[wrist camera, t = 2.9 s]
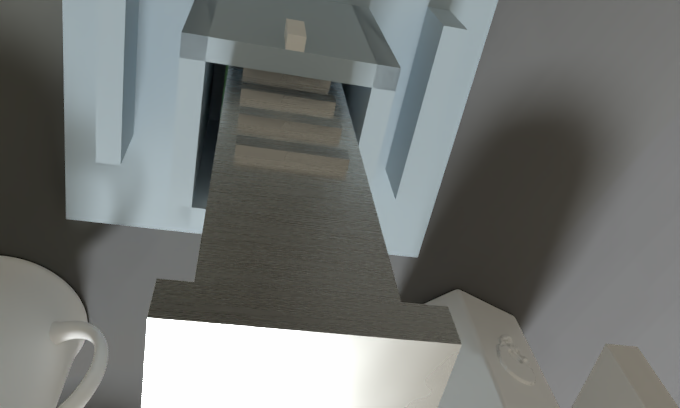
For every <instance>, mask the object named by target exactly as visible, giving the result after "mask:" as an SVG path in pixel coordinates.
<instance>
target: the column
mask: <svg viewBox="0 0 680 408" xmlns="http://www.w3.org/2000/svg"><path fill="white" fill-rule="evenodd" d="M461 346H462V343H461V341H460V338H459V335H458V332H457V330H456V327H455V324H454V322H453V319H452V316H451V313H450V311H449V308H448V306H438V305H427V304H417V303H407V302H401V299H400V295H399V292H398V288H397V284H396V281H395V277H394V274H393V270H392V266H391V263H390V259H389V255H388V252H387V248H386V244H385V241H384V237H383V233H382V230H381V226H380V223H379V219H378V215H377V212H376V208H375V204H374V201H373V197H372V193H371V190H370V186H369V183H368V179H367V175H366V172H365V168H364V164H363V161H362V157H361V153H360V150H359V146H358V143H357V139H356V135H355V132H354V128H353V124H352V121H351V117H350V113H349V110H348V106H347V102H346V99H345V95H344V92H343V88H342V84H341V83H339V82H332V81H326V80H320V79H313V78H307V77H301V76H294V75H288V74H281V73H275V72H269V71H262V70H256V69H250V68H243V67H237V66H231V65H226V71H225V79H224V88H223V97H222V106H221V115H220V124H219V131H218V137H217V143H216V149H215V156H214V162H213V168H212V174H211V181H210V187H209V193H208V200H207V206H206V212H205V218H204V225H203V231H202V237H201V243H200V250H199V256H198V262H197V268H196V275H195V281H194V282H188V281H178V280H167V279H156V283H155V287H154V292H153V296H152V300H151V304H150V308H149V312H148V316H147V328H146V344H145V360H144V376H143V392H142V408H438V405H439V403H440V400H441V398H442V395H443V392H444V390H445V387H446V385H447V382H448V379H449V377H450V374H451V372H452V369H453V366H454V364H455V361H456V359H457V356H458V353H459V351H460V348H461Z"/></svg>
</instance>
